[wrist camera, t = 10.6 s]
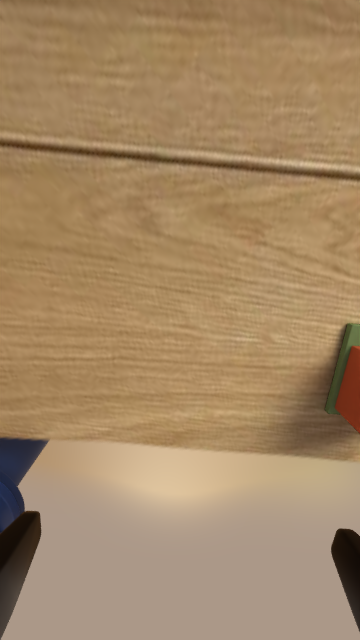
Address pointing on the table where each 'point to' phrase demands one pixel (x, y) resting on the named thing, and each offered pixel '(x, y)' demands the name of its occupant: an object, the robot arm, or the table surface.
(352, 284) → the table surface
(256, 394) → the table surface
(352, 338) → the cloth mat
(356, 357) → the block
